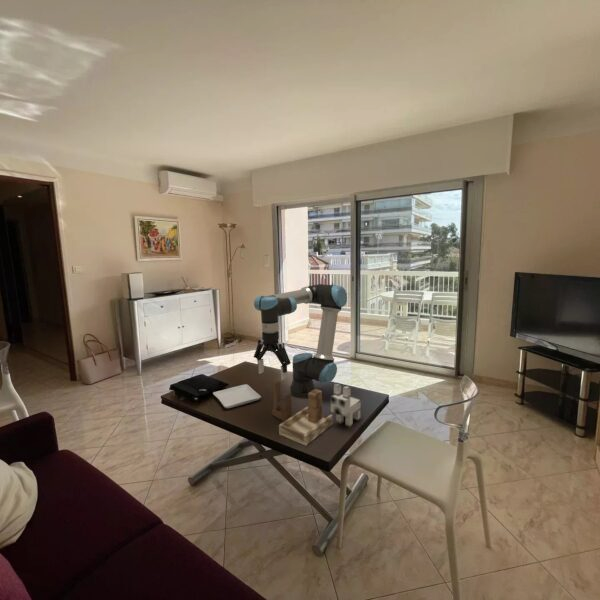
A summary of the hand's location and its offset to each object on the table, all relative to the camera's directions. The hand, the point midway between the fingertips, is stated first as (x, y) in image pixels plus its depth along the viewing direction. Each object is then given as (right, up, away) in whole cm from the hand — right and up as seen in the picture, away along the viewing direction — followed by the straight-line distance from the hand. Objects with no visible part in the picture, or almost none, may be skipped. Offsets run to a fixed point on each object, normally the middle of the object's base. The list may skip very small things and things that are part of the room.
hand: (272, 375), depth 147 cm
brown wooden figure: (+4, -24, +12) cm, 27 cm away
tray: (+16, -25, +1) cm, 30 cm away
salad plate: (-23, -22, +33) cm, 45 cm away
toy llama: (+36, -24, +8) cm, 44 cm away
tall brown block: (+20, -23, +7) cm, 31 cm away
